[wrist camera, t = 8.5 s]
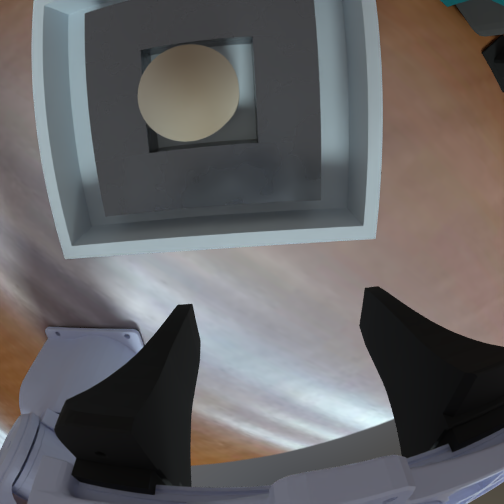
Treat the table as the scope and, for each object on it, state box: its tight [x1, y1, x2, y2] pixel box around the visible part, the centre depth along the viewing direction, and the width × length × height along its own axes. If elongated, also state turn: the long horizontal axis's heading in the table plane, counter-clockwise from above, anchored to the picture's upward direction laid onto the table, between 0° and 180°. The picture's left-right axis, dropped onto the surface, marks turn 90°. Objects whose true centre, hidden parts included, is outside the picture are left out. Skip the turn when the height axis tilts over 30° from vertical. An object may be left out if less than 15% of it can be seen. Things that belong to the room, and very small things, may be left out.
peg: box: [138, 44, 240, 142], centre depth 13 cm, size 4×4×6 cm
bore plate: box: [85, 0, 321, 217], centre depth 15 cm, size 12×12×2 cm
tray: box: [32, 0, 383, 259], centre depth 15 cm, size 18×16×4 cm
